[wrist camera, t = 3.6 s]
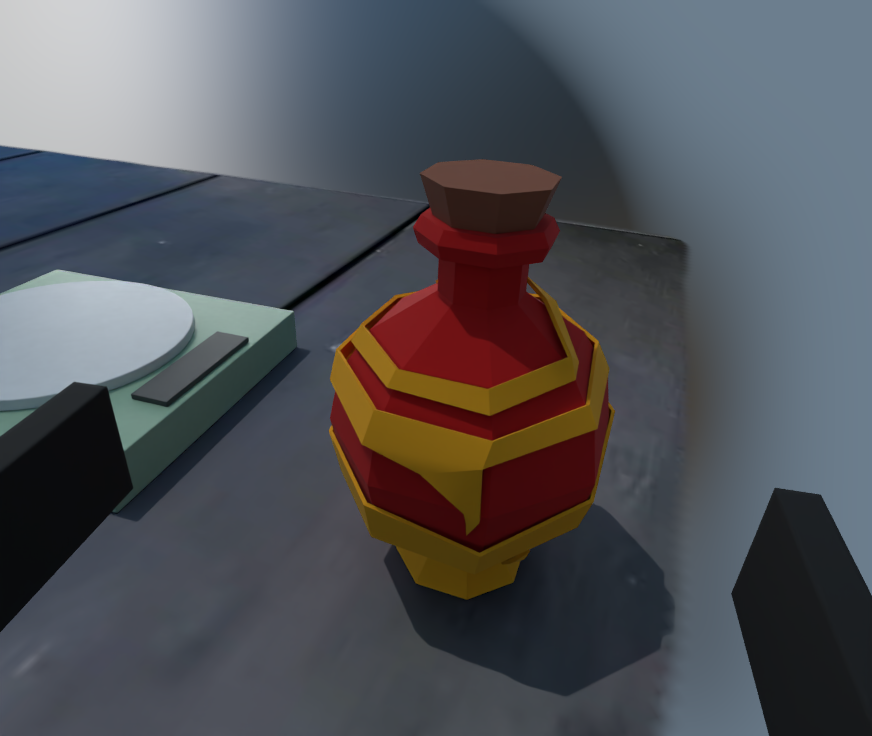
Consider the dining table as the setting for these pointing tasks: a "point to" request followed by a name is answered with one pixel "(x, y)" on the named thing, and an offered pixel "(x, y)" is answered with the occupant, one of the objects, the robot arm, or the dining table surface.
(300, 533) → the dining table surface
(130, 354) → the kitchen scale
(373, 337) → the potion bottle
